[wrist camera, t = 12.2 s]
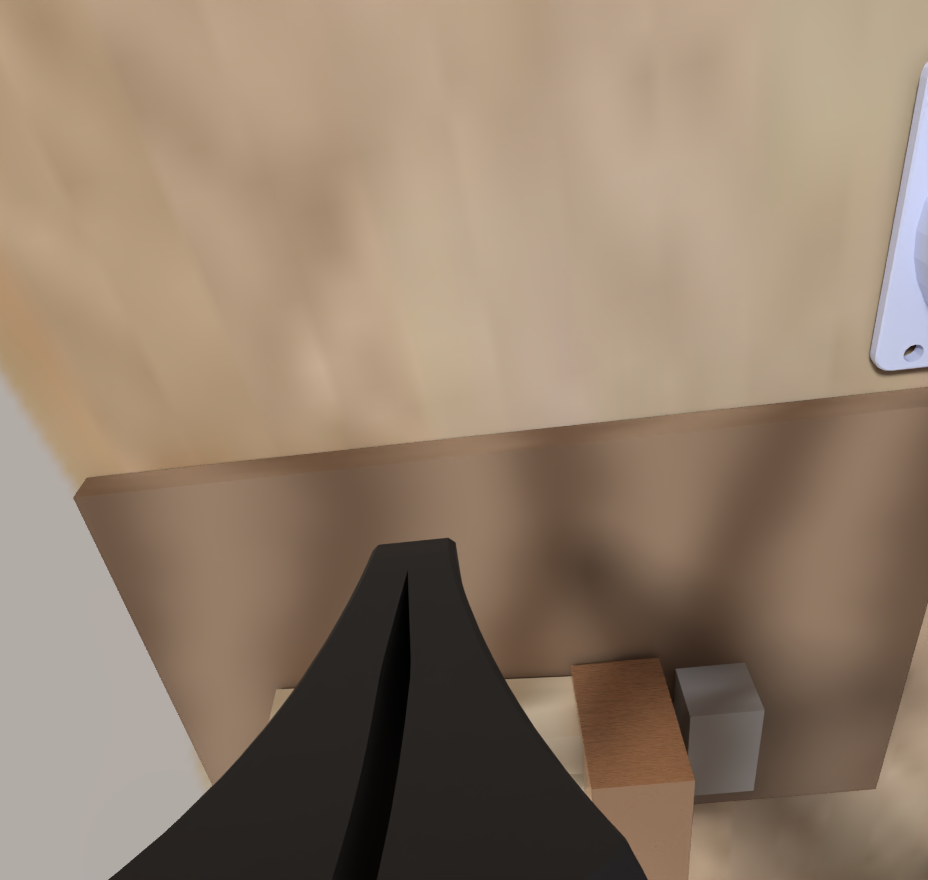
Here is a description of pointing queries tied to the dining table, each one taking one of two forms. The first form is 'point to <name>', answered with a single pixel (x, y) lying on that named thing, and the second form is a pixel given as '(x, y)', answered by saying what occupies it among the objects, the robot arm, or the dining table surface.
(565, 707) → the bar
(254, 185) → the dining table surface
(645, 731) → the brown rectangular block
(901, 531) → the tongs base
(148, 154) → the dining table surface
